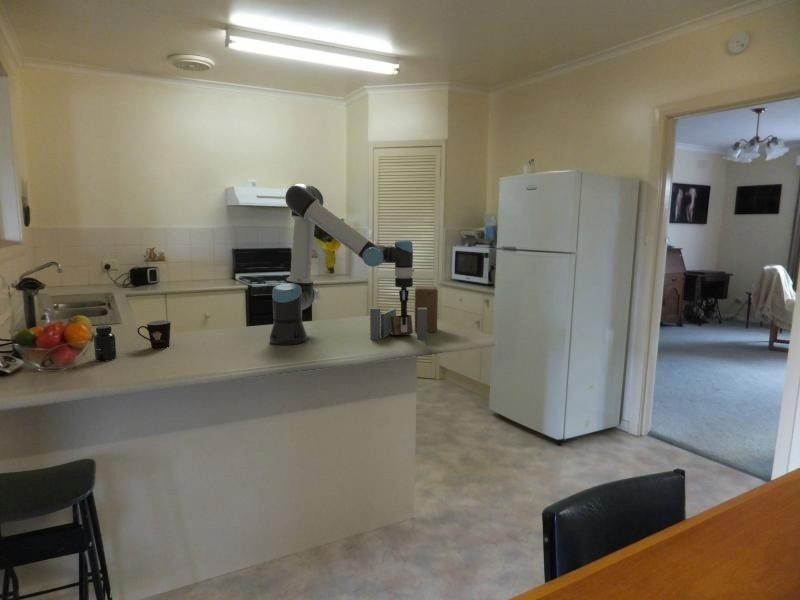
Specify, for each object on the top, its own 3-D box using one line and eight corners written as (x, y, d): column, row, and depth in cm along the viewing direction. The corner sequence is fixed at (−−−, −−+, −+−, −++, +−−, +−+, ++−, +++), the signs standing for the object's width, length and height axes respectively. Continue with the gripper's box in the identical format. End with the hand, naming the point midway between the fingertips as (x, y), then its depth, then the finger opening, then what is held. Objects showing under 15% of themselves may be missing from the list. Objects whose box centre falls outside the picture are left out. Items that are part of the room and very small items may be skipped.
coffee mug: (177, 345, 207) (175, 321, 205) (162, 350, 199) (160, 325, 197) (153, 343, 210) (151, 319, 208) (137, 348, 202) (135, 323, 200)
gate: (383, 337, 218) (383, 314, 217) (380, 337, 219) (380, 314, 217) (396, 330, 233) (396, 308, 231) (393, 329, 233) (393, 308, 231)
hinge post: (370, 339, 218) (370, 309, 215) (371, 336, 222) (370, 307, 219) (379, 339, 217) (379, 309, 215) (380, 337, 221) (380, 307, 219)
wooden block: (437, 333, 229) (437, 288, 226) (414, 333, 229) (415, 288, 226) (436, 328, 239) (436, 285, 236) (414, 328, 239) (414, 285, 236)
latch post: (417, 339, 217) (417, 309, 215) (417, 337, 221) (417, 307, 219) (426, 339, 217) (427, 309, 215) (426, 337, 221) (426, 307, 219)
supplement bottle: (93, 362, 182) (89, 329, 180) (98, 357, 189) (95, 325, 187) (114, 360, 184) (111, 328, 182) (119, 356, 191) (116, 324, 189)
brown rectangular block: (395, 334, 220) (393, 315, 221) (392, 335, 224) (390, 317, 226) (412, 333, 222) (411, 314, 223) (409, 334, 227) (408, 316, 228)
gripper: (412, 278, 210) (412, 335, 213) (412, 275, 222) (412, 328, 226) (394, 279, 210) (394, 335, 213) (395, 275, 223) (395, 328, 226)
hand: (404, 331), depth 220 cm, fingers closed
